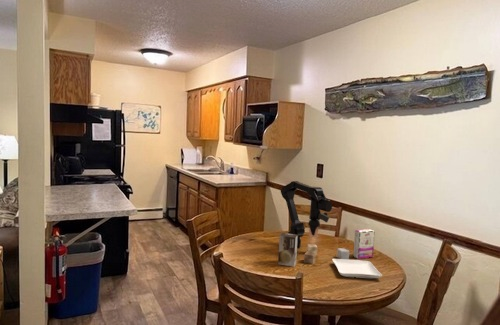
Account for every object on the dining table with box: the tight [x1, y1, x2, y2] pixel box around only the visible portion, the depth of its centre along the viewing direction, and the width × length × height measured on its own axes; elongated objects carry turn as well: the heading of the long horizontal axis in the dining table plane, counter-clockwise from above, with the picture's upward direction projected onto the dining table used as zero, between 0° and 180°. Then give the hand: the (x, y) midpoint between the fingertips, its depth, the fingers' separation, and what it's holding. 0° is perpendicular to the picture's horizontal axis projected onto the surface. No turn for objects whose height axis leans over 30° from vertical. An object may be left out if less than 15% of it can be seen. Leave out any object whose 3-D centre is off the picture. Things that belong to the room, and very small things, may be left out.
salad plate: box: [332, 258, 383, 279], centre depth 184 cm, size 21×21×3 cm
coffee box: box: [277, 232, 298, 268], centre depth 189 cm, size 9×6×16 cm
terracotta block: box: [308, 226, 319, 238], centre depth 207 cm, size 5×5×5 cm
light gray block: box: [336, 248, 351, 260], centre depth 204 cm, size 5×5×5 cm
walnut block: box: [303, 251, 317, 265], centre depth 194 cm, size 5×5×5 cm
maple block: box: [306, 243, 318, 256], centre depth 208 cm, size 5×5×5 cm
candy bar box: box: [352, 228, 376, 260], centre depth 207 cm, size 11×5×16 cm, turn 112°
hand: (313, 234), depth 208 cm, fingers closed on terracotta block, 5 cm apart
